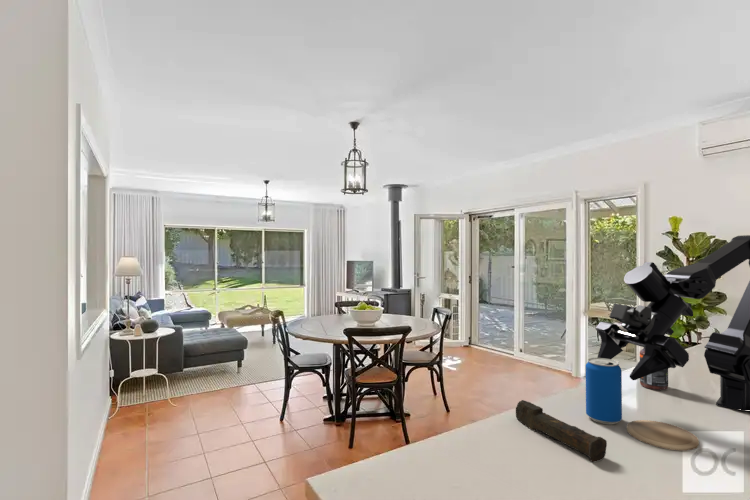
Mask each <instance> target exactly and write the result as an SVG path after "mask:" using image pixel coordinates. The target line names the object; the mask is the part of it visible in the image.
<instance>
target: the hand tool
mask: <svg viewBox="0 0 750 500" xmlns="http://www.w3.org/2000/svg"><path fill="white" fill-rule="evenodd" d="M515 417H516V420H518V421H519V422H520V423H521V424H523V425H524V426H526V427H527V428H528V429H530V430H532V431H540V432H541V433H544V434H545V435H547V436H549V437H551V438H554V439H556V440H557V441H559V442H561V443H563V444H565V445H567V446H568V447H571V448H572V449H573V450H576V451H577V452H579V453H581V454H584V455H586V456H588V457H589V460H590V461H591V463H595V462H596V463H597V462H599V461H601V460H603V459H604V458H605V457H606V454H607V446H608V443H607V442H608V441H607V440H606V439H605V438H603V437H601V436H596V435H592V434H591V433H589V432H586V431H585V430H582V429H580V428H579V427H578V426H576V425H571V424H568V423H566V422H564V421H562V420H560V419H558V418H555V417H553V416H552V415H550V414H547V413H546V412H544V410H543V408H542V407H541V406H539V405H536V404H534V403H532V402H530V401H527V400H524V399H521V400H520V401H518V402H517V404H516V407H515Z"/></svg>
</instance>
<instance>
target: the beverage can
mask: <svg viewBox="0 0 750 500" xmlns="http://www.w3.org/2000/svg"><path fill="white" fill-rule="evenodd" d="M622 375H623V374H622V368H621V367H620V361H617V360H615V359H606V358H597V357H590V358H588V359H587V363H586V364H585V414H586V415H587V416H588V417H589V418H590V420H592V421H593V422H596V423H599V424H604V425H615V424H618V422H621V421H622V420H623V402H622V401H623V399H622V398H623V396H622V395H623V392H622V391H623V389H622V385H623V383H622Z"/></svg>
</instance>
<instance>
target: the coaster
mask: <svg viewBox="0 0 750 500" xmlns="http://www.w3.org/2000/svg"><path fill="white" fill-rule="evenodd" d="M626 431H627V433H628V434H629V435H630V436H631V437H633V438H634V439H636V440H638V441H640V442H642V443H644V444H647V445H650V446H652V447H657V448H659V449H661V448H662V449H665V450H670V451H681V452H682V451H683V452H684V451H692V450H696V449H697V448H699V446H700V444H699V443H700V442H699V441H700V440H699V438H698V437H697V435H695V434H694V433H692V432H691V431H689V430H686V429H684V428H682V427H680V426H677V425H673V424H670V423H666V422H662V421H657V420H648V419H647V420H646V419H638V420H633V421H630V422H628V423H627V424H626Z"/></svg>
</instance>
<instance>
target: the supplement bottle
mask: <svg viewBox="0 0 750 500" xmlns="http://www.w3.org/2000/svg"><path fill="white" fill-rule="evenodd" d="M644 354H645V347H642V349H640V350H639V361H640V360H641V358H642V357H643V356H644ZM639 384H640V385H641V386H642V387H643V388H647V389H650V390H655V391H664V390H667V389H668V388H669V368H668V369H665V370H661V371H658V372H655V373H652V374H650V375H647V376H644V377H642V378H639Z"/></svg>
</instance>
